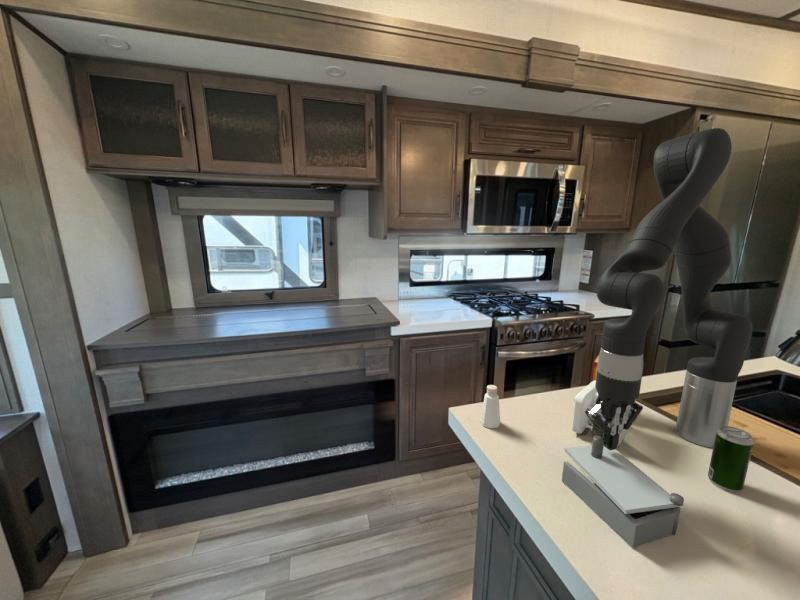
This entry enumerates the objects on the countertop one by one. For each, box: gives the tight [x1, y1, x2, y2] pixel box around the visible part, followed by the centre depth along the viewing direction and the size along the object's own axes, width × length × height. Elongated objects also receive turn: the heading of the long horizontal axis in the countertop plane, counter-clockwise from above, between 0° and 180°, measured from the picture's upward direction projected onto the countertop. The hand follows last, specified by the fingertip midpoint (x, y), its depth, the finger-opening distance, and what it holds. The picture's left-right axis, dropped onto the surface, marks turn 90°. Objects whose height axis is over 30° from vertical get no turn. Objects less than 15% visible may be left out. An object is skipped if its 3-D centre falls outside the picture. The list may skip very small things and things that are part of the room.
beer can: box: [707, 425, 755, 493], centre depth 68 cm, size 5×5×12 cm
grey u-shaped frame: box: [561, 461, 681, 549], centre depth 64 cm, size 10×16×5 cm, turn 16°
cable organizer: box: [572, 380, 637, 448], centre depth 87 cm, size 15×11×12 cm
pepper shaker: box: [480, 384, 501, 430], centre depth 91 cm, size 5×5×11 cm
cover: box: [564, 435, 685, 515], centre depth 64 cm, size 11×17×5 cm, turn 8°
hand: (609, 447), depth 70 cm, fingers closed
